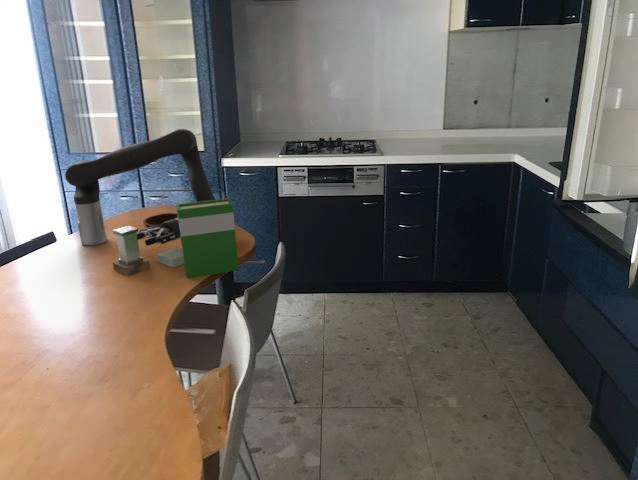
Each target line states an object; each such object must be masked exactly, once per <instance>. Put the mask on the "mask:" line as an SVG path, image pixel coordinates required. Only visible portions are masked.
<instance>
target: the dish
mask: <svg viewBox="0 0 638 480" xmlns="http://www.w3.org/2000/svg"><path fill="white" fill-rule="evenodd" d="M175 218H178V214H177V212H176V213H173V212H165V213H159V214H154V215H151V216H148V217H146V218H144V220H143V221H142V224H143V225H144V226H145V228H148V227H152V226H155V228H158V227H160V228H161V226H162V224H163V223H164V222H165V221H169V220H172V219H175Z"/></svg>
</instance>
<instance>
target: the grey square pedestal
mask: <svg viewBox="0 0 638 480" xmlns="http://www.w3.org/2000/svg"><path fill="white" fill-rule="evenodd" d="M112 233H113V234H114V235H115V237H116V238H115V239H116V243H117V245H116V246H117V249H118V254H119V258H117V259H118V260H117V261H119V263H122V264H124V265H126V266H129V265H132V264H135V263H138V262H141V261H143V258H144V257H143V256H141V252H140V246H139V245H140V244H139V240H138V239H137V233H139V229H138V228H137V227H134V226H132V225H125V226H122V227H118V228H115V229H112Z"/></svg>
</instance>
